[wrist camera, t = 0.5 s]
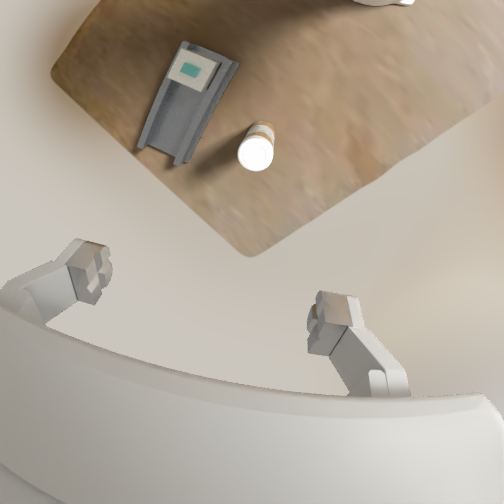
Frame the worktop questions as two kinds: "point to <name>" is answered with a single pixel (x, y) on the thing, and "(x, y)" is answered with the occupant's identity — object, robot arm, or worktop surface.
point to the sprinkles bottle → (257, 147)
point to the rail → (186, 101)
